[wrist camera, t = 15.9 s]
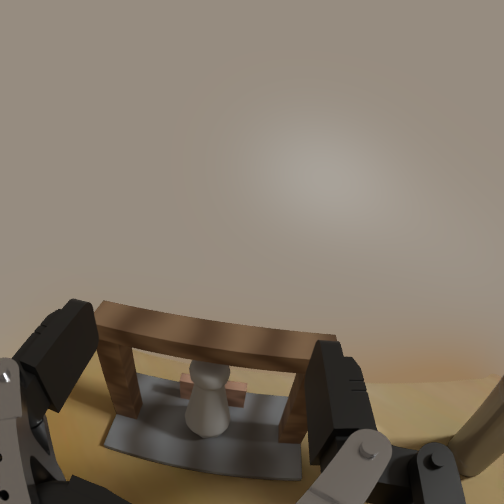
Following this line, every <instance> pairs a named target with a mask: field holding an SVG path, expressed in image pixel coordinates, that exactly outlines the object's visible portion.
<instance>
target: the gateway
mask: <svg viewBox="0 0 504 504" xmlns="http://www.w3.org/2000/svg"><path fill="white" fill-rule="evenodd" d="M94 316H95V321H96V325H97V330H98V334H99V342H98V347H97V353H98V357H99V360H100V364H101V367H102V371H103V374H104V377H105V381H106V384H107V387H108V390H109V393H110V396H111V399H112V402H113V405H114V408H115V410H116V413H117V414H116V417H115V419H114V421H113V424H112V426H111V429H110V431H109V433H108V436H107V438H106V441H105V443H104V446H105V448H108V449H111V450H114V451H118V452H121V453H124V454H127V455H131V456H134V457H138V458H141V459H145V460H149V461H153V462H157V463H161V464H165V465H169V466H174V467H178V468H183V469H188V470H194V471H199V472H205V473H212V474H219V475H226V476H234V477H244V478H255V479H269V480H298V481H300V480H301V479H302V466H301V442H302V440H303V438H304V436H305V434H306V433H307V431H308V427H307V414H306V401H305V389H304V380H305V374H306V370H307V367H308V364H309V361H310V358H311V355H312V352H313V349H314V346H315V343H316V341H317V340H327V341H337V339H336V335H331V334H319V333H308V332H298V331H289V330H280V329H271V328H263V327H255V326H247V325H239V324H232V323H225V322H218V321H212V320H205V319H199V318H192V317H187V316H180V315H175V314H169V313H164V312H158V311H153V310H147V309H142V308H137V307H132V306H127V305H123V304H118V303H113V302H109V301H103V302H102V303H101V304H100V306H99V307H98V308H97V310H96V311H95V312H94ZM132 347H133V348H137V349H141V350H146V351H150V352H155V353H160V354H165V355H170V356H175V357H180V358H185V359H191V360H197V361H203V362H209V363H215V364H222V365H229V366H236V367H244V368H251V369H260V370H269V371H279V372H290V373H296V376H295V379H294V382H293V385H292V388H291V391H290V394H289V397H285V396H273V395H263V394H254V393H246V391H247V383H242V382H234V381H228V382H227V383H226V384H225V390H226V396H227V401H228V407H229V412H230V417H231V419H230V422H229V426H228V428H227V429H226V430H225V431H224V432H223V433H222V434H220V435H219V436H218V437H213V438H202V437H201V436H199V435H198V434H196V433H194V432H192V430H191V429H190V428H189V427H188V426H187V424H186V420H185V412H186V409H187V406H188V403H189V400H190V396H191V393H192V390H193V386H194V383H193V382H192V380H191V377H190V374H184V373H182V375H181V378H180V382H176V381H171V380H167V379H162V378H157V377H153V376H148V375H144V374H140V373H136V369H135V364H134V358H133V353H132Z"/></svg>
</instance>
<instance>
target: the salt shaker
mask: <svg viewBox="0 0 504 504" xmlns="http://www.w3.org/2000/svg"><path fill="white" fill-rule="evenodd" d="M189 370H190V377H191V380H192V382H193V383H194V386H193V390H192V393H191V396H190V400H189V403H188V406H187V409H186V412H185V420H186V424H187V426H188V427H189V428H190V429H191V430H192V432H194V433H196V434H198V435H199V436H201V437H202V438H213V437H218V436H219V435H220V434H222V433H223V432H224V431H225V430H226V429H227V428H228V426H229V422H230V419H231V417H230V412H229V407H228V401H227V396H226V390H225V384H226V383H227V382H228V379H229V376H230V368H229V365H222V364H215V363H209V362H203V361H197V360H192V362H191V364H190V368H189Z"/></svg>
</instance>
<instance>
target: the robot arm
mask: <svg viewBox="0 0 504 504" xmlns="http://www.w3.org/2000/svg"><path fill="white" fill-rule="evenodd" d="M98 342H99V334H98V330H97V325H96V321H95V316H94V311H93V307H92V304H91V303H89V302H85V301H81V300H77V299H71V300H69V301H68V303H67V304H66V305H65V306H64V307H63V308H62V309H58V310H56V311H55V312H53V313H51V314H50V315H48V316H47V317H46V318H45V319H44V321H43V322H42V323H41V325H40V326H39V327H38V328H37V329H36V330H35V332H34V333H32V334H31V336H30V337H29V338H28V339H27V340H26V342H25V343H24V344H23V345H22V346H21V348H20V349H19V350H18V351H17V352H16V354H15V355H14V356H13V357H12V359H10V358H0V504H131V503H129V502H128V501H126V500H124V499H122V498H121V497H119V496H117V495H116V494H114V493H112V492H111V491H109V490H108V489H106V488H104V487H102V486H99V485H96V484H94V483H91V482H89V481H86V480H84V479H81V478H79V477H77V476H74V475H72V476H71V479H70V481H66V480H65V477H64V475H63V473H62V471H61V469H60V467H59V466H58V464H57V461H56V458H55V454H54V450H53V446H52V442H51V437H50V432H49V427H48V422H47V418H46V415H45V413H46V411H47V409H50V410H52V411H55V412H57V413H59V412H60V410H61V408H62V407H63V405H64V403H65V401H66V400H67V398H68V396H69V394H70V393H71V391H72V389H73V387H74V386H75V384H76V382H77V381H78V379H79V377H80V376H81V374H82V372H83V371H84V369H85V367H86V366H87V364H88V363H89V361H90V359H91V358H92V356H93V354H94V353H95V351H96V349H97V347H98ZM304 389H305V401H306V414H307V427H308V442H309V458H310V465H320V469H321V475H320V476H319V477H318V478H317V480H316V481H315V482H314V483H313V484H312V486H311V487H310V488H309V489H308V490H307V491H306V493H305V494H304V495H303V496H302V497H301V498H300V499H299V500H298V502H297V503H296V504H364V503H365V502H366V503H372V504H466V502H465V497H464V493H463V488H462V484H461V480H460V476H459V474H461V475H464V476H476V475H478V474H480V473H481V472H482V471H484V470H485V469H486V468H487V467H488V466H490V465H491V464H492V463H493V462H494V461H495V460H497V459H498V458H499V457H500V456H501V455H502V454H503V453H504V376H503V377H502V378H501V380H500V381H499V383H498V384H497V385H496V387H495V388H494V389H493V391H492V392H491V393H490V395H489V396H488V397H487V399H486V400H485V401H484V402H483V404H482V405H481V406H480V407H479V408H478V410H477V411H476V412H475V413H474V414H473V416H472V417H471V418H470V419H469V420H468V421H467V422H466V423H465V425H464V426H463V427H462V428H461V429H460V430H459V431H458V432H457V433H456V434H455V435H454V436H453V438H452V439H451V440H450V442H449V444H448V447H447V446H445V445H443V444H441V443H436V442H432V443H428V444H426V445H424V446H423V447H422V448H421V449H420V450H419V451H417V450H411V449H406V448H401V447H396V446H393V445H391V443H390V441H389V440H388V439H387V437H386V436H385V435H383V434H382V433H380V432H378V431H377V428H376V424H375V420H374V416H373V412H372V408H371V404H370V400H369V397H368V393H367V392H366V390H367V389H366V386H365V382H364V378H363V375H362V371H361V368H360V367H359V365H358V364H357V363H356V362H355V360H354V359H353V358H352V357H344V356H343V352H342V348H341V344H340V342H339V341H327V340H317V341H316V343H315V346H314V349H313V352H312V355H311V358H310V361H309V364H308V367H307V370H306V374H305V380H304Z"/></svg>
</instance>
